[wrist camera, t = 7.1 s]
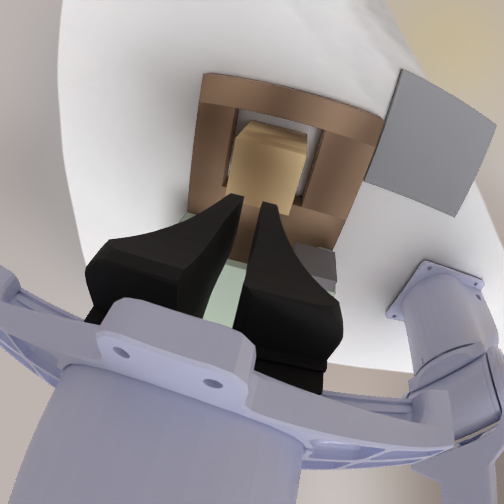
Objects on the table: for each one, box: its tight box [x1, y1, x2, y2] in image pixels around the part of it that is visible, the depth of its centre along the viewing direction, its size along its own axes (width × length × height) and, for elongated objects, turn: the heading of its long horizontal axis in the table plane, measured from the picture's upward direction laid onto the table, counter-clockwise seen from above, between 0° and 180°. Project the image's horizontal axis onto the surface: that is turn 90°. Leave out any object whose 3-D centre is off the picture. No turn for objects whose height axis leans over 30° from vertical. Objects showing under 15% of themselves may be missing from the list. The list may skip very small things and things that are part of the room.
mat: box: [364, 69, 496, 218], centre depth 17 cm, size 9×9×1 cm
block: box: [225, 120, 307, 216], centre depth 18 cm, size 4×4×5 cm
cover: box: [180, 212, 337, 328], centre depth 23 cm, size 12×9×5 cm
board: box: [187, 73, 385, 264], centre depth 22 cm, size 12×20×2 cm, turn 170°
